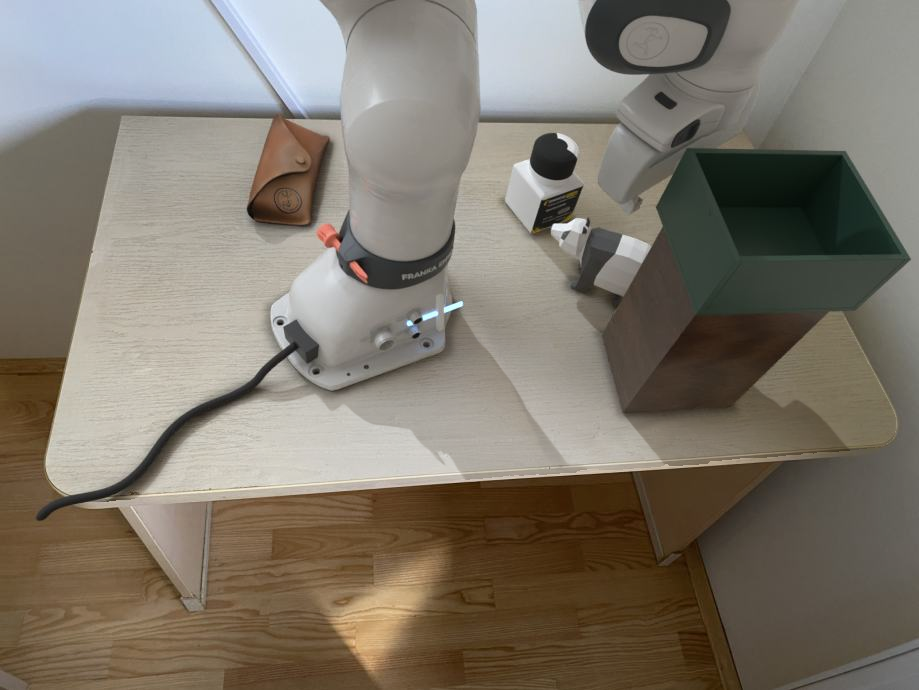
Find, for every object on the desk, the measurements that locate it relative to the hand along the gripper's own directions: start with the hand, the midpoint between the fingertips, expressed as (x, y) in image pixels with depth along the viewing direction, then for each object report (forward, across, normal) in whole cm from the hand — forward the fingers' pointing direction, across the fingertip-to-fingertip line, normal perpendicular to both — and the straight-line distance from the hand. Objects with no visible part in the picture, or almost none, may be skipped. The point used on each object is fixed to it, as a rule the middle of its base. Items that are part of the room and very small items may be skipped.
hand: (657, 191), depth 76 cm
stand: (+16, +6, +14) cm, 22 cm away
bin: (-6, +4, +14) cm, 16 cm away
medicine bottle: (+16, +1, -15) cm, 22 cm away
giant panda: (+16, +4, -1) cm, 17 cm away
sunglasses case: (+14, +27, -39) cm, 49 cm away
